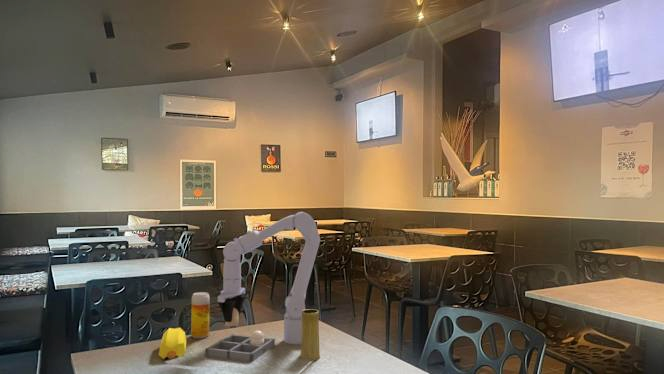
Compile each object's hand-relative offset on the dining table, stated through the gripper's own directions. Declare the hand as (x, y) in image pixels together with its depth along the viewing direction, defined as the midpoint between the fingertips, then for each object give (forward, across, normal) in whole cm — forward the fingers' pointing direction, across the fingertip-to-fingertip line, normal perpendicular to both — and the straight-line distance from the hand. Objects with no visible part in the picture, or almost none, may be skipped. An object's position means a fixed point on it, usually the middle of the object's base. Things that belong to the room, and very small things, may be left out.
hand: (232, 319), depth 157 cm
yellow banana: (+9, +12, -14) cm, 20 cm away
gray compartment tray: (+8, +6, +7) cm, 12 cm away
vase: (+9, +2, +29) cm, 30 cm away
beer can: (+9, -5, -16) cm, 18 cm away
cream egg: (+8, +2, +10) cm, 13 cm away
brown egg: (+2, 0, 0) cm, 2 cm away
